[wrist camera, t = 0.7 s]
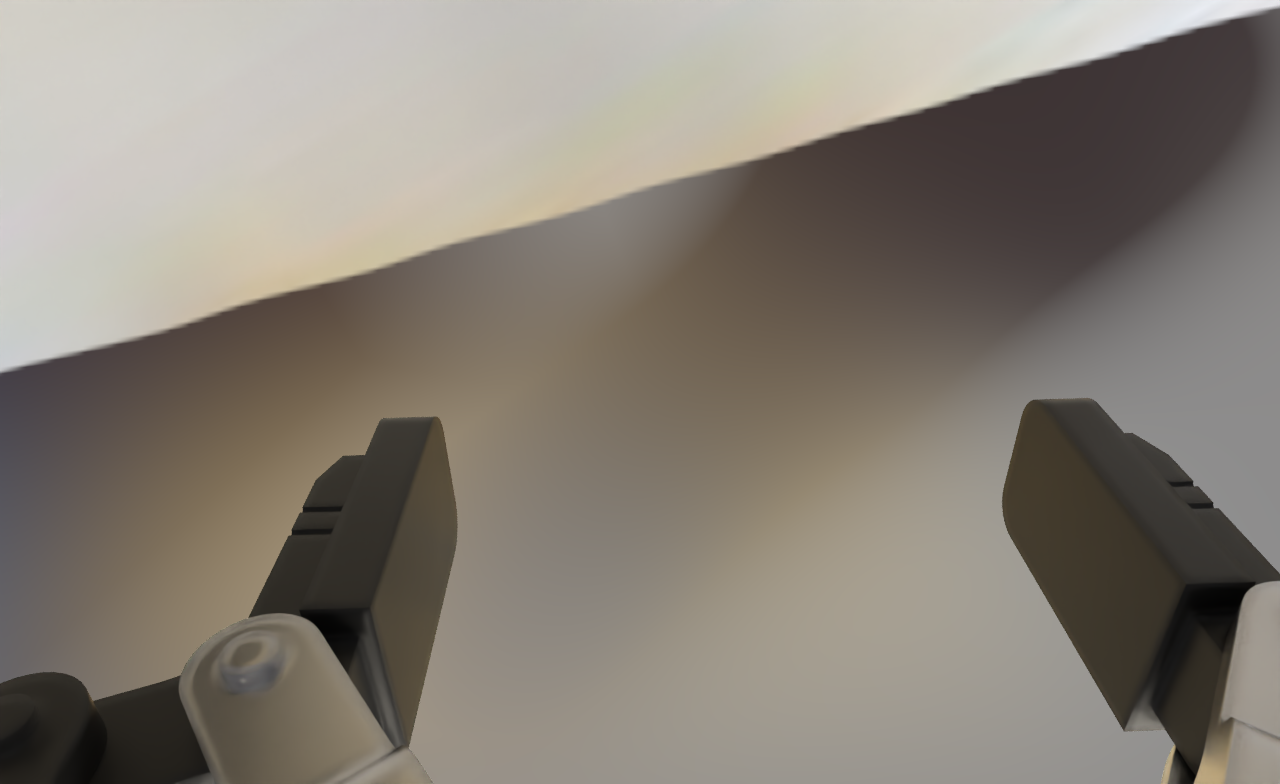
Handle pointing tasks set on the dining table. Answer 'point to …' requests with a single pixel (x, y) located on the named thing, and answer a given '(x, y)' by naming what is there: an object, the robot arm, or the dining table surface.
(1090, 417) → the robot arm
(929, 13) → the dining table surface
